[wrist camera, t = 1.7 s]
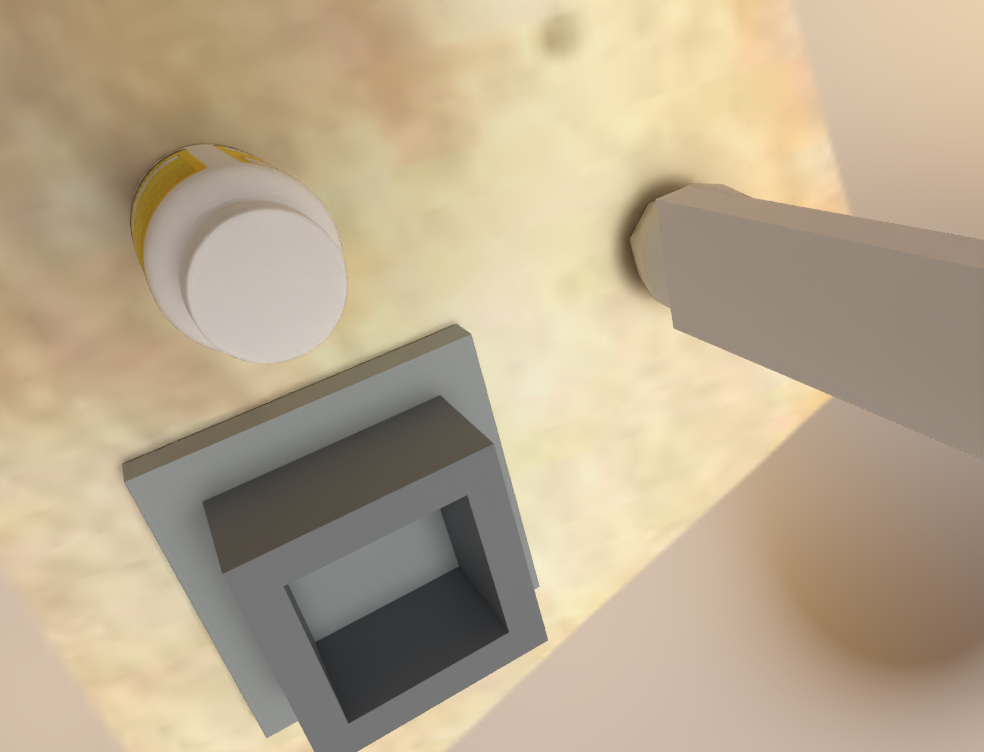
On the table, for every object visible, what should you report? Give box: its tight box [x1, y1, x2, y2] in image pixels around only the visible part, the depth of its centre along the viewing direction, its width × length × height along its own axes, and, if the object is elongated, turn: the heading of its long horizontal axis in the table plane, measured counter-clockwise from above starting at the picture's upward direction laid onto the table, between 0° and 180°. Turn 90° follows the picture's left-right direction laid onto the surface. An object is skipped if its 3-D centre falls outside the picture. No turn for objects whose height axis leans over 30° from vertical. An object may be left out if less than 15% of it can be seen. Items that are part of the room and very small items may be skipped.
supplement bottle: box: [130, 144, 348, 363], centre depth 23 cm, size 5×5×10 cm
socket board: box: [123, 324, 548, 752], centre depth 31 cm, size 14×14×6 cm
